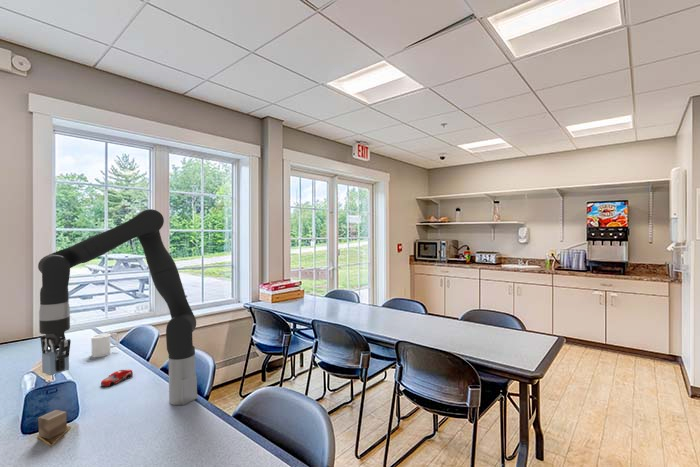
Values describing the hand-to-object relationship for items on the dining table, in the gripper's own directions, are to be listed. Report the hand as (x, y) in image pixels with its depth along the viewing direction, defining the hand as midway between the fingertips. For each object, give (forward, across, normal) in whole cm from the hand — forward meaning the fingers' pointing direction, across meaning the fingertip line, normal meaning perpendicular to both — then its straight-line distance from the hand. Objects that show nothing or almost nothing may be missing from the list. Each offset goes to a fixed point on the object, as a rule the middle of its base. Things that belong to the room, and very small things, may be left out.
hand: (55, 369), depth 112 cm
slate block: (+1, 0, 0) cm, 1 cm away
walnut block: (+20, 0, +1) cm, 20 cm away
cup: (+22, +67, -50) cm, 86 cm away
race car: (+22, +25, -33) cm, 47 cm away
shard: (+22, 0, 0) cm, 22 cm away
